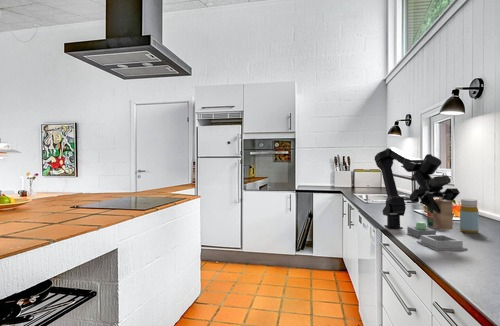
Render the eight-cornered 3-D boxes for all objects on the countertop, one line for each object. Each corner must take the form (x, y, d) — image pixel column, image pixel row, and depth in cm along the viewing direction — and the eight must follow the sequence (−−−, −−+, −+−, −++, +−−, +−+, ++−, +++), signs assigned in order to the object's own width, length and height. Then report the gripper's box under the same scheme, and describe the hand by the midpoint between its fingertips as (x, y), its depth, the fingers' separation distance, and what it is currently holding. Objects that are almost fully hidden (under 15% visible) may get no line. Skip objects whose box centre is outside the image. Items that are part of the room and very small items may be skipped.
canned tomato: (445, 225, 155) (445, 204, 155) (445, 228, 148) (445, 206, 148) (427, 223, 159) (427, 203, 159) (426, 226, 153) (426, 205, 153)
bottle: (481, 233, 137) (481, 200, 137) (464, 233, 139) (464, 200, 138) (473, 230, 144) (473, 198, 144) (457, 229, 145) (457, 198, 145)
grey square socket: (416, 242, 124) (416, 234, 124) (444, 241, 125) (444, 234, 125) (436, 250, 112) (436, 242, 112) (467, 249, 113) (467, 241, 113)
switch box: (407, 233, 139) (407, 226, 139) (424, 232, 140) (424, 226, 140) (418, 237, 131) (418, 230, 131) (435, 237, 132) (435, 230, 132)
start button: (414, 231, 138) (414, 221, 138) (422, 231, 138) (422, 221, 138) (419, 234, 134) (419, 223, 134) (428, 233, 134) (428, 223, 134)
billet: (433, 227, 120) (433, 199, 120) (443, 226, 121) (443, 199, 121) (441, 229, 116) (441, 201, 116) (452, 229, 117) (452, 201, 116)
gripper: (413, 169, 121) (433, 200, 110) (456, 168, 123) (479, 198, 113) (401, 187, 129) (419, 217, 118) (441, 186, 131) (462, 216, 120)
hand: (445, 212), depth 117 cm, fingers closed on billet, 4 cm apart
